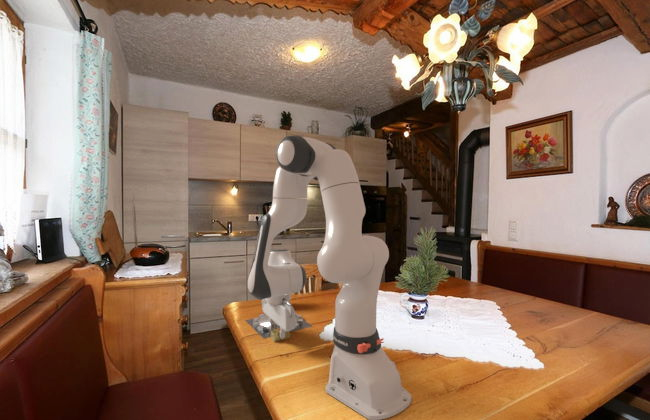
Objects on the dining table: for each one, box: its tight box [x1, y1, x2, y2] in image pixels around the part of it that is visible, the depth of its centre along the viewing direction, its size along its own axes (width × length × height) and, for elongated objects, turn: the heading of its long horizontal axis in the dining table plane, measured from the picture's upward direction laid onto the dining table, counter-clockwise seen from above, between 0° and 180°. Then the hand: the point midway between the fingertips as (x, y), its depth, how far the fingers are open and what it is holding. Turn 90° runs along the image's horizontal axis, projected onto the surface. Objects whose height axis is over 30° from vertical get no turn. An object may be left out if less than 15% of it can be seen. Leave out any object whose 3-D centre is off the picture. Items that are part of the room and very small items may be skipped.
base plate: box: [245, 316, 313, 339], centre depth 119 cm, size 20×20×1 cm
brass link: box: [270, 328, 291, 343], centre depth 105 cm, size 3×6×4 cm, turn 123°
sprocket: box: [252, 311, 304, 333], centre depth 119 cm, size 19×19×6 cm
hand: (277, 333), depth 106 cm, fingers open, 6 cm apart
